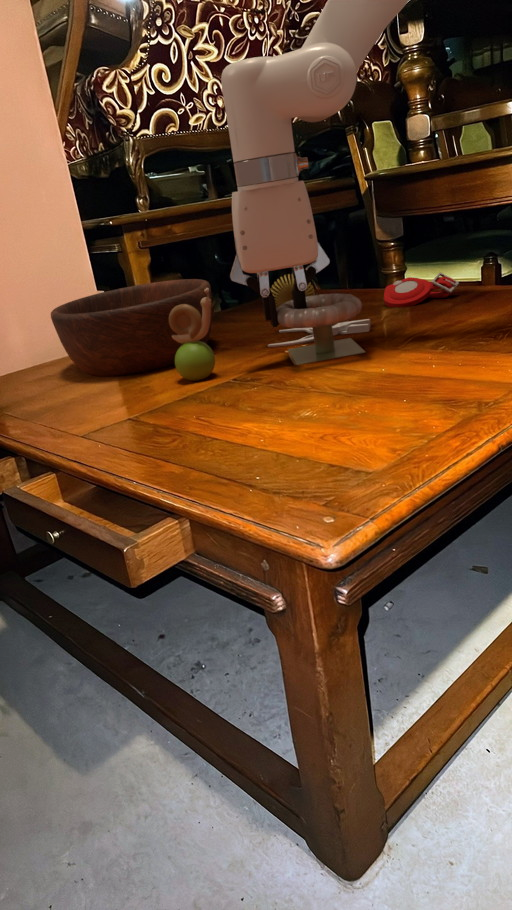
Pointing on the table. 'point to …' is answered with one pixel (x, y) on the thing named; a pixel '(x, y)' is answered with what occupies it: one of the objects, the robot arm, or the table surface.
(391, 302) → the tracker holder
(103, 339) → the wooden bowl
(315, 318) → the bracelet
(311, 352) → the stand
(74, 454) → the table surface
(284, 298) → the sculpture
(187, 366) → the snail figurine
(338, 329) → the pliers
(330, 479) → the table surface
